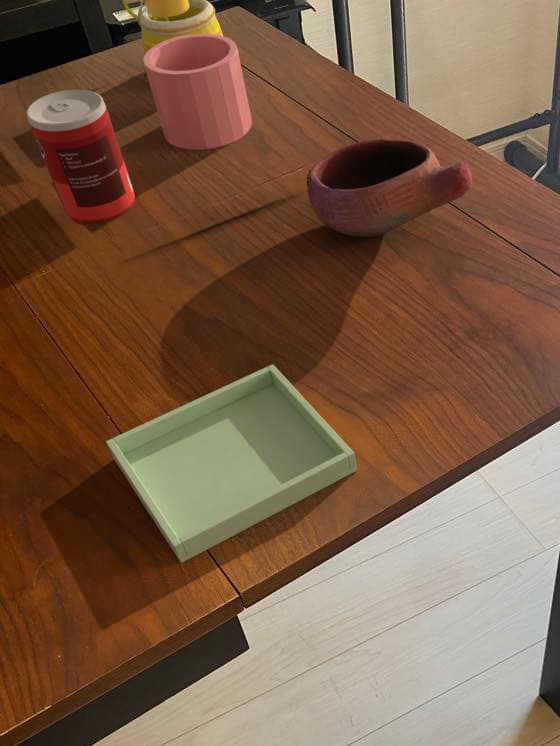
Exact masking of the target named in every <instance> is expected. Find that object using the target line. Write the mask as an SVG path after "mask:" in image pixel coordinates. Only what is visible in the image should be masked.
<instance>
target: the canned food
mask: <svg viewBox="0 0 560 746" xmlns="http://www.w3.org/2000/svg"><path fill="white" fill-rule="evenodd" d="M25 113H26V118H27V121H28V124H29V127H30V129H31V132H32V135H33V137H34V139H35V142H36V144H37V146H38V149H39V151H40V154H41V156H42V159H43V161H44V164H45V166H46V169H47V171H48V174H49V176H50V178H51V180H52V183H53V186H54V188H55V191H56V193H57V195H58V197H59V200H60V203H61V205H62V208H63V210H64V211H65V213H66V214H67V216H68V217H69V218H70V219H71V220H72V221H73V222H75V223H77V224H79V225H83V226H84V225H85V224H84V223H87V224H88V223H89V224H90V223H92V224H93V223H95V224H96V223H102V222H107V221H111V220H113V219H117V218H119V217H121V216H123V215H124V214H126V213H127V212H128V211H130V209H131V208H132V207H133V206H134V204H135V202H136V194H135V191H134V188H133V185H132V181H131V179H130V175H129V172H128V169H127V166H126V163H125V160H124V157H123V154H122V151H121V148H120V145H119V142H118V139H117V136H116V133H115V129H114V125H113V123H112V120H111V117H110V113H109V111H108V108H107V106H106V103H105V102H104V98H103V97H102V96H101V95H100V94H99V93H97V92H94V91H91V90H88V89H87V90H86V89H66V90H60V91H56V92H52V93H49V94H47V95H44V96H42V97H40V98H38V99H36V100H34V102H32V103H31V104H30V105H29V106H28V108H27V109H26V112H25Z"/></svg>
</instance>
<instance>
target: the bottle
mask: <svg viewBox="0 0 560 746" xmlns="http://www.w3.org/2000/svg"><path fill="white" fill-rule="evenodd" d="M145 2H146V3H145ZM145 2H144V3H145V5H146V6H147V10H148V13H149V14H150V15H151V16H154V17H172V16H177V15H180V14H182V13H184V12H186V11H187V10H188V9H189V2H188V0H145ZM146 6H145V7H146Z"/></svg>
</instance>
